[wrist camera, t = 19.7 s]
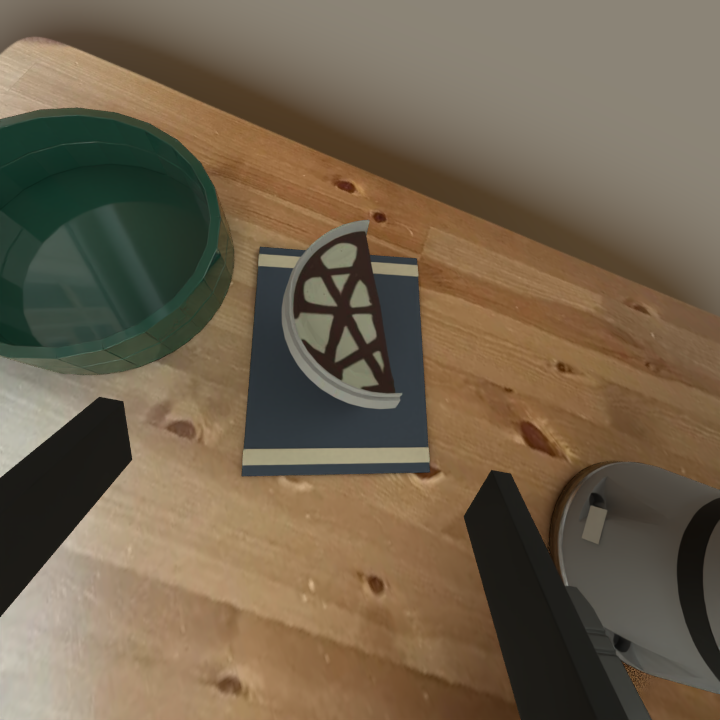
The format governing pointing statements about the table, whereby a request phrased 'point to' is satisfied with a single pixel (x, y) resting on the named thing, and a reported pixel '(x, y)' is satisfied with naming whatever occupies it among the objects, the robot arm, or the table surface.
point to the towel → (318, 408)
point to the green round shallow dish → (104, 242)
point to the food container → (339, 320)
